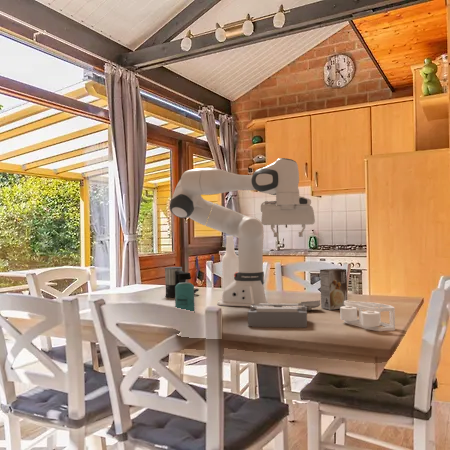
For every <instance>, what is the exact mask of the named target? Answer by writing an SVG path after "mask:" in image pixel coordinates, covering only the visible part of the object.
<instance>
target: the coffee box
mask: <svg viewBox="0 0 450 450" xmlns="http://www.w3.org/2000/svg"><path fill="white" fill-rule="evenodd" d="M319 278H320V279H319V280H320V306H321V307H320V308H321V309H325V310H329V311H333V310H338V309H339V310H340V307H343V306H346V305H344V301H348V281H347V280H348V279H347V269H346V268H338V267H337V268H325V269H323V268H322V269H319Z"/></svg>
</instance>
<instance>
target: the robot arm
mask: <svg viewBox="0 0 450 450" xmlns="http://www.w3.org/2000/svg"><path fill="white" fill-rule="evenodd" d="M180 176H181V177H180V178H179V181H178V183H177V184H176V187H175V189H174V192H173V195H172V196H171V197H172V198H171V200H170V202H169V211H170V213H172V215H173V216H175V217H177V218H178V219H179V218H180V219H187V218H189V219H191V220H192V221H194V222H196V223H198V224H200V225H202V226H205V227H207V228H211V229H213V230H216V231H218V232H222V233H224V234H227V235H228V236H234V237H235V238H238V242H237V243H238V245H237V247H238V249H237V250H238V251H237V252H238V253H237V254H238V255H237V256H238V267H239V272H236V273H235V274H234V280H235V281H234V282H232V283H231V284H230V285H229V286H228V287H226V288H225V289H224V291H223V290H222V294H221V296H222V297H221V299H219V300H218V301H217V303H216V305H218V306H229V307H230V306H232V307H250V306H252V304H255V305H259V304H260V303H268V300H267V297H266V293H265V292H266V291H265V272H264V265H263V264H264V261H263V254H264V253H263V251H264V226H270V229H271V231H272V232H273V238H278V237H279V235H278V234H279V232H276V230H275V226H282V225H283V226H293V225H294V226H295V225H296V226H297V225H298V226H299V225H300V226H301V228H302V229H301V231H298V237H299V238H301V237H303V233H304V231H305V229H306V226H307V225H314V224H315V223H316V219H315V212H314V211H315V210H314V208H313V206H312V200H311V199H310V198H307V197H304V196H300V190H299V183H300V171H299V165H298V162H296V160H293V159H292V158H285V157H281V158H277V159H275V161H274V162H272V163H270V164H269V165H267V166H264V167H261V168H259V169H256V170H255V171H254V172H253V174H237V173H233V172H230V171H227V170H224V169H220V168H215V167H200V168H193V169H188V170H186V171H184V172H183V173H182V175H180ZM236 191H257V192H259V193H263V194H269V195H272V196H275V200H271V201H268V200H266V201H264V202H262V203H260V212H261V220H260V219H258V218H257V217H254V216H248V215H245V214H243V213H240V212H238V211H235V210H233V209H231V208H229V207H225V206H223V205H220V204H218V203H215V202H212V201H209V200H207V199H204V198H203V196H202V195H204V196H206V195H207V196H208V195H209V196H211V195H219V194H224V193H225V194H226V193H229V192H236ZM234 237H233V238H234Z"/></svg>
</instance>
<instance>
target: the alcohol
mask: <svg viewBox="0 0 450 450" xmlns="http://www.w3.org/2000/svg"><path fill="white" fill-rule="evenodd" d="M225 237H226V242H225V254H224V255H222V259H221V265H222V266H221V267H222V271H221V272H222V292H223V291H224V289H225V288H226V287H228V286H229V285H230V284H231V283H232V282H234V281H235V280H234V274H235V273H236V272H239V267H238V255H237V254H236V252H235V241H234V236H232V235H226V236H225Z"/></svg>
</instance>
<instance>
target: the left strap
mask: <svg viewBox="0 0 450 450" xmlns="http://www.w3.org/2000/svg"><path fill="white" fill-rule="evenodd" d="M252 306H254V309H257V307H274V306H259V305H252Z"/></svg>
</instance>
